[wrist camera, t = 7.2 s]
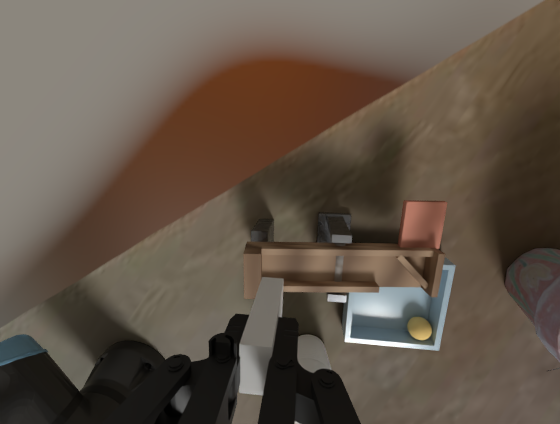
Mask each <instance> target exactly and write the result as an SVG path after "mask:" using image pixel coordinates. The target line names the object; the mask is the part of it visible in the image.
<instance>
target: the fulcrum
mask: <svg viewBox="0 0 560 424" xmlns="http://www.w3.org/2000/svg"><path fill="white" fill-rule="evenodd" d="M350 223H351V214H343V213H321V212H319V218H318V235H317V243H334V242H335V243H352V234H351V232H350ZM326 293H327V301H332V302H344V303H346V298H347V295H346V292H326Z"/></svg>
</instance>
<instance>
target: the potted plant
mask: <svg viewBox="0 0 560 424" xmlns="http://www.w3.org/2000/svg"><path fill="white" fill-rule="evenodd" d="M505 287H506V289H507V291H508V293H509V294H510V296H511V297H512V298H513V299H514V301H515V302H516V303H517V304H518V306H519V307H520V308H521V310H522V311H523V312H524V313H525V315H526V316H527V317H528V318H529V320H530V321H531V322H532V324H533V325H534V326H535V329H536V334H537V335H538V337H539V338H540V340H541V341H542V343H543V344H544V346H545V347H546V349H547V350H548V351H549V352H550V353H551V354H552V355H553V356H554V357H555V358H556V359H557V360H558V361H559V362H560V250H558V249H552V248H536V249H533V250H531V251H528V252H526V253H524V254H522V255H521V256H519V257H518V258H517V259H516V260H515V261H514V262H513V263H512V264H511V265H510V266H509V267H508V269H507V274H506V280H505ZM558 369H559V368H558ZM553 370H555V369H553ZM548 371H551V370H548Z"/></svg>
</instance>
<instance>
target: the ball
mask: <svg viewBox="0 0 560 424" xmlns="http://www.w3.org/2000/svg"><path fill="white" fill-rule="evenodd" d="M407 328H408V331H409V333H410V334H411V336H412V337H414V338H415V339H418V340H426V339H428V338H429V337H430V335H431V333H432V328H431V325H430V323H429V322H428V321H427V320H426V319H424V318H422V317H413V318H411V319H410V320H409V321H408V324H407Z"/></svg>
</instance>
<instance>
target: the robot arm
mask: <svg viewBox="0 0 560 424" xmlns="http://www.w3.org/2000/svg"><path fill="white" fill-rule="evenodd" d="M283 283H284V279H283V278H270V277H262V279H261V282H260V285H259V288H258V291H257V294H256V297H255V300H254V303H253V306H252V309H251V312H250V315H245V314H235V315H234V316H233V317H232V318H231V319H230V321H229V323H228V326H227V328H226V331H225V332H224V333H220V334H217V335H215V336H213V337H212V338H211V339H210V340H209V358H207V359H204V360H200V361H194V362H191V360H190V358H189V357H188V356H186V355H182V354H178V355H173V356H171V357H169V358H167V359H166V360H164V359H163V357H162V356H161V355H160V354H159V353H158V352H157V351H155V350H154V349H152V348H151V347H149V346H147V345H145V344H142V343H139V342H135V341H122V342H118V343H116V344H114V345H112V346H111V347H109V348H108V349H107V350H106V351H105V352H104V353H103V354H102V355H101V357H100V358H99V359H98V361H97V362H96V364H95V366H94V368H93V370H92V372H91V374H90V375H89V377H88V379H87V381H86V383H85V385H84V387H83V388H82V389H81V391H80V392H79V390H78V389H77V388H76V387H75V385H74V384H73V383H72V382H71V381H70V379H69V378H68V377H67V376H66V375H65V373H64V372H63V371H62V370H61V369H60V367H59V366H58V365H57V364H56V363H55V361H54V360H53V359H52V358H51V357H50V355H49V354H48V353H47V352H48V351H47V350H46V349H43V348H42V347H41V346H40V345H39V344H38V343H37V342H36V341H35V340H34V339H33V338H32V337H31V336H29V335H24V334H23V335H16V336H13V337H11V338H8V339H6V340H4V341H2V342H0V424H231V423H232V419H233V416H234V412H235V408H236V405H237V392H238V389H239V393H246V394H255V395H263V397H262V403H261V409H260V414H259V420H258V424H295V421H296V422H298V423H300V424H361V423H360V421H359V419H358V416H357V414H356V412H355V409H354V407H353V405H352V402H351V400H350V398H349V395H348V393H347V391H346V389H345V386H344V384H343V382H342V379H341V378H340V376H339V375H338V374H337V373H336V372H334V371H332V370H330V369H323V368H322V369H319V370H317V371H315V372H314V373H312V372H309V371H307V370H305V369H304V368H303V367H302V366H301V365H300V364H299V362H298V359H297V351H298V326H299V324H298V322H297V321H296V319H295V318H286V317H282V307H283Z"/></svg>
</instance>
